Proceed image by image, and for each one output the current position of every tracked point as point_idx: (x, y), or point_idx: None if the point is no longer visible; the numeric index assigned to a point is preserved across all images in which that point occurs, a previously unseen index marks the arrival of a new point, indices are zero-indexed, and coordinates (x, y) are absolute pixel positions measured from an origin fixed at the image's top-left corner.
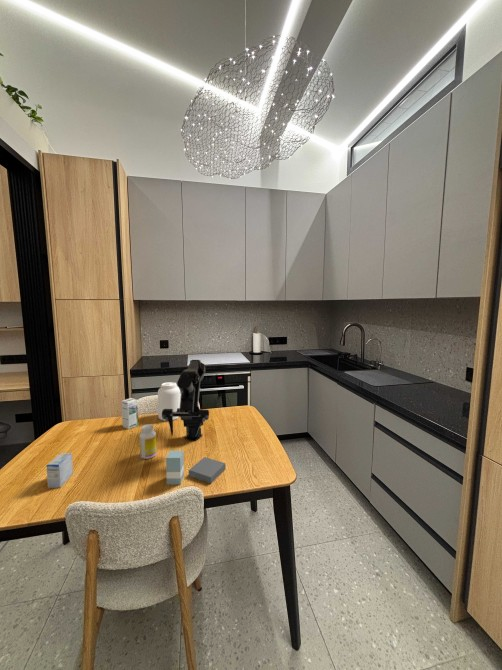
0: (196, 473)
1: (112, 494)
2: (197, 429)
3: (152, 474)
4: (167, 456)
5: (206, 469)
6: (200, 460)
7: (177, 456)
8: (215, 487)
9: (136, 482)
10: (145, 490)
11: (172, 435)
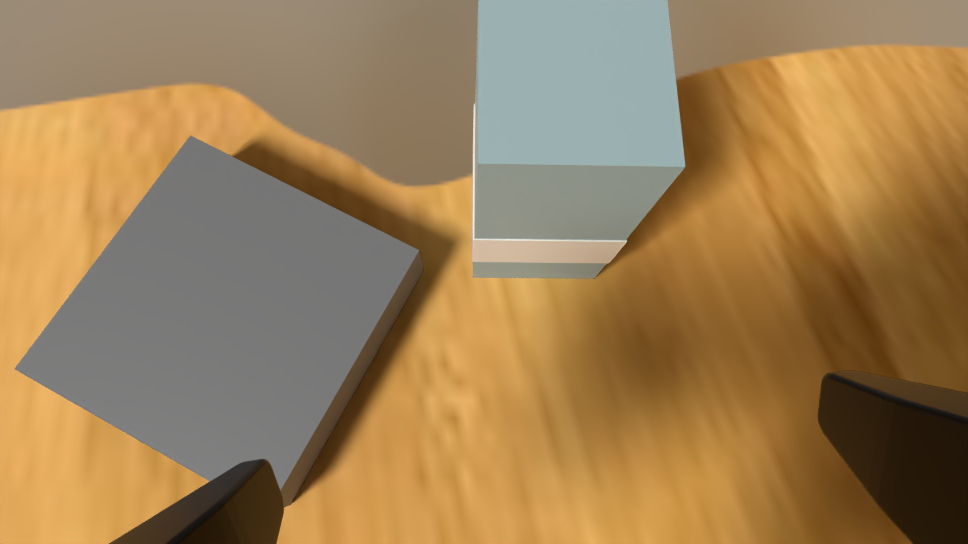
0: (338, 212)
1: (938, 74)
2: (136, 538)
3: (767, 303)
4: (661, 24)
5: (235, 252)
6: (312, 430)
7: (524, 23)
8: (182, 123)
9: (846, 197)
10: (724, 106)
11: (825, 376)
